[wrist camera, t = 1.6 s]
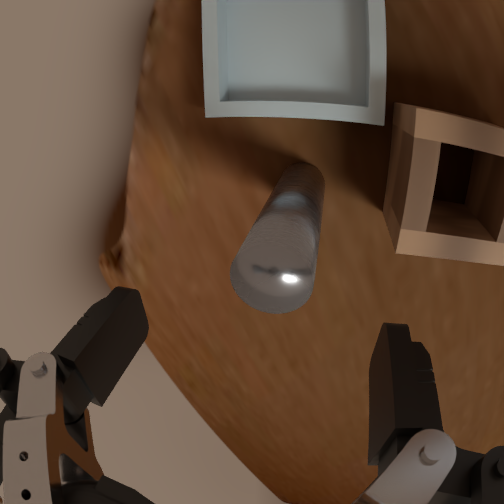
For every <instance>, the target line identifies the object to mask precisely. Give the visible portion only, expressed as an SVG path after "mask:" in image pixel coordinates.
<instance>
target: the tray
mask: <svg viewBox="0 0 504 504" xmlns="http://www.w3.org/2000/svg"><path fill="white" fill-rule="evenodd" d="M202 45H203V75H204V99H205V118H209V117H289V118H309V119H324V120H337V121H348V122H357V123H366V124H374V125H382V126H384V120H385V101H386V18H385V0H202Z"/></svg>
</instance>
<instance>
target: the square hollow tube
mask: <svg viewBox="0 0 504 504" xmlns="http://www.w3.org/2000/svg"><path fill="white" fill-rule="evenodd" d="M441 142H443V143H448V144H453V145H457V146H462V147H466V148H471V149H474V155H473V161H472V167H471V173H470V179H469V184H468V189H467V194H466V199H465V204H458V203H452V202H446V201H440V200H434V199H433V194H434V188H435V182H436V176H437V170H438V163H439V156H440V148H441ZM383 215H384V218H385V221H386V224H387V227H388V230H389V233H390V236H391V239H392V243H393V246H394V249H395V253H399V254H408V255H417V256H426V257H434V258H443V259H451V260H460V261H468V262H476V263H484V264H493V265H501V266H504V128H503V127H500V126H497V125H495V124H491V123H488V122H484V121H481V120H477V119H473V118H470V117H466V116H462V115H458V114H453V113H449V112H445V111H440V110H435V109H431V108H425V107H420V106H415V105H409V104H403V103H397V102H394V108H393V124H392V137H391V148H390V159H389V168H388V176H387V184H386V192H385V199H384V206H383Z"/></svg>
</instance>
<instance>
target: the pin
mask: <svg viewBox="0 0 504 504" xmlns="http://www.w3.org/2000/svg"><path fill="white" fill-rule="evenodd" d="M324 191H325V180H324V177H323V175H322V173H321V172H320V171H319V170H318V169H317V168H316V167H315V166H313V165H311V164H308V163H295V164H292V165H290V166H289V167H288V168H286V169H285V171H284V172H283V174H282V175H281V177H280V179H279V181H278V182H277V184H276V186H275V188H274V189H273V191H272V193H271V195H270V197H269V198H268V200H267V202H266V204H265V205H264V207H263V209H262V211H261V212H260V214H259V216H258V218H257V219H256V221H255V223H254V225H253V226H252V228H251V230H250V232H249V234H248V235H247V237H246V239H245V241H244V242H243V244H242V246H241V248H240V250H239V251H238V253H237V255H236V257H235V258H234V260H233V262H232V265H231V269H230V279H231V283H232V286H233V288H234V290H235V292H236V293H237V295H238V296H239V297H240V298H241V299H242V300H243V301H244V302H245V303H247V304H248V305H250V306H251V307H253V308H255V309H257V310H260V311H263V312H267V313H274V314H280V313H287V312H291V311H293V310H296V309H298V308H299V307H301V306H302V305H303V304H304V303H306V301H307V300H308V299H309V297H310V296H311V293H312V291H313V286H314V278H315V271H316V263H317V255H318V247H319V239H320V230H321V221H322V211H323V201H324Z"/></svg>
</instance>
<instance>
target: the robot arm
mask: <svg viewBox="0 0 504 504" xmlns="http://www.w3.org/2000/svg"><path fill="white" fill-rule="evenodd" d="M148 329H149V325H148V320H147V317H146V313H145V310H144V306H143V303H142V299H141V296H140V293H139V291H138V290H136V289H130V288H125V287H120V286H118V287H115V288H114V289H113V290H112V291H111V293H110V294H109V295H108V296H107V297H106V298H103V299H101V300H100V301H98V302H97V303H95V304H93V305H92V306H91V307H90V308H89V309H88V310H87V312H86V313H85V314H84V317H81V318H80V319H79V321H78V322H77V325H74V326H73V328H72V329H71V330H70V331H69V332H68V333H67V335H66V336H65V337H64V338H63V339H62V340H61V341H60V343H59V344H58V345H57V346H56V347H55V349H54V350H53V351H52V352H51V353H46V352H40V353H37V354H34V355H32V356H31V357H29V358H28V359H27V360H26V361H16V360H12V359H11V358H10V356H9V355H8V353H7V352H6V351H5V349H3V348H0V398H1V399H2V400H3V401H4V403H6V406H5V407H4V409H3V411H2V412H1V413H0V485H1V483H2V481H3V490H4V504H154V503H153V502H152V501H150V500H148V499H147V498H146V497H144V496H143V495H142V494H140V493H139V492H137V491H136V490H135V489H132V488H130V487H128V486H125V485H123V484H121V483H119V482H117V481H115V480H112V479H110V478H108V477H106V476H104V474H103V471H102V469H101V467H100V465H99V464H98V462H97V459H96V457H95V452H94V446H93V439H92V432H91V424H90V416H89V410H88V409H87V406H88V404H89V403H90V402H92V403H94V404H96V405H99V406H101V407H102V406H103V404H104V403H105V401H106V400H107V398H108V396H109V395H110V393H111V391H112V390H113V389H114V387H115V385H116V384H117V382H118V381H119V379H120V377H121V376H122V374H123V373H124V371H125V370H126V368H127V367H128V365H129V364H130V362H131V360H132V359H133V358H134V356H135V354H136V353H137V351H138V350H139V348H140V347H141V345H142V344H143V342H144V341H145V339H146V337H147V334H148ZM432 370H433V368H432V363H431V358H430V354H429V353H428V352H427V350H426V349H425V347H424V346H423V344H422V343H421V342H411V337H410V332H409V327H408V325H407V324H395V323H383V325H382V327H381V330H380V333H379V336H378V339H377V342H376V345H375V348H374V351H373V354H372V357H371V361H370V368H369V449H368V465H378V476H377V478H376V479H375V480H374V481H373V482H372V483H371V484H370V485H369V486H368V487H367V488H366V489H365V490H364V492H363V493H362V494H361V495H360V496H359V497H358V498H357V499H356V500H355V501H354V502H353V503H352V504H504V446H498V447H495V448H493V449H491V450H490V451H489V452H488V453H486V454H481V453H476V452H472V451H468V450H464V449H460V448H458V447H456V446H455V444H454V442H453V440H452V439H451V438H450V437H449V436H448V435H447V434H446V433H444V430H443V427H442V420H441V413H440V407H439V400H438V394H437V389H436V384H435V378H434V373H433V372H432ZM0 504H2V498H1V496H0Z"/></svg>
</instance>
